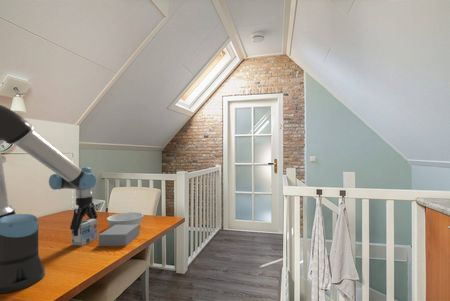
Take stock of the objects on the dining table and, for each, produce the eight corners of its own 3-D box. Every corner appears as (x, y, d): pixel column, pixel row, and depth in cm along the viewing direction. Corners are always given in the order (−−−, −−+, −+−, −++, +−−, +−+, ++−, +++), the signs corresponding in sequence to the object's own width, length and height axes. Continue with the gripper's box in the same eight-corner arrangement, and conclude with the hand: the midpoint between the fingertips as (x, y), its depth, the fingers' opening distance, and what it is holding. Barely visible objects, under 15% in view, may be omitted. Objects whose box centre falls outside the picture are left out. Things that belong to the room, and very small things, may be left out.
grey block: (126, 246, 116) (125, 234, 116) (98, 246, 116) (98, 234, 116) (139, 235, 132) (139, 224, 132) (115, 235, 132) (115, 224, 132)
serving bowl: (127, 234, 133) (127, 222, 133) (99, 231, 139) (98, 219, 140) (150, 223, 152) (150, 212, 152) (124, 221, 159) (124, 211, 159)
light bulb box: (82, 246, 117) (82, 224, 117) (71, 245, 118) (70, 224, 118) (98, 238, 127) (97, 218, 127) (87, 237, 129) (87, 218, 129)
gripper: (76, 201, 111) (77, 246, 110) (103, 192, 135) (104, 228, 135) (60, 201, 110) (61, 246, 110) (90, 192, 135) (91, 229, 135)
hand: (85, 237), depth 123 cm, fingers open, 13 cm apart
